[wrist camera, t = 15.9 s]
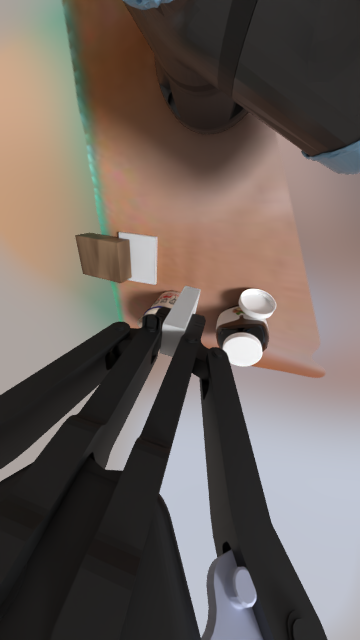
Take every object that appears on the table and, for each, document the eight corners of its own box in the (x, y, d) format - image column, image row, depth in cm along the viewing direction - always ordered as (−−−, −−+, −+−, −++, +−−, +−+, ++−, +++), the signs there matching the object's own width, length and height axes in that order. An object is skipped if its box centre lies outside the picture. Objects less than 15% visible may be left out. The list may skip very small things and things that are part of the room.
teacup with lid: (187, 286, 43) (172, 311, 34) (196, 320, 47) (186, 352, 38) (140, 294, 47) (116, 319, 38) (153, 326, 52) (133, 355, 42)
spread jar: (221, 334, 48) (217, 369, 38) (212, 292, 43) (205, 320, 33) (275, 329, 44) (286, 367, 34) (272, 282, 39) (284, 310, 29)
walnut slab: (131, 277, 44) (95, 268, 47) (129, 239, 40) (89, 232, 42) (120, 283, 41) (83, 273, 44) (117, 243, 36) (75, 235, 39)
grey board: (120, 231, 41) (118, 232, 40) (157, 236, 39) (155, 237, 38) (124, 277, 46) (122, 278, 45) (156, 283, 45) (155, 284, 44)
